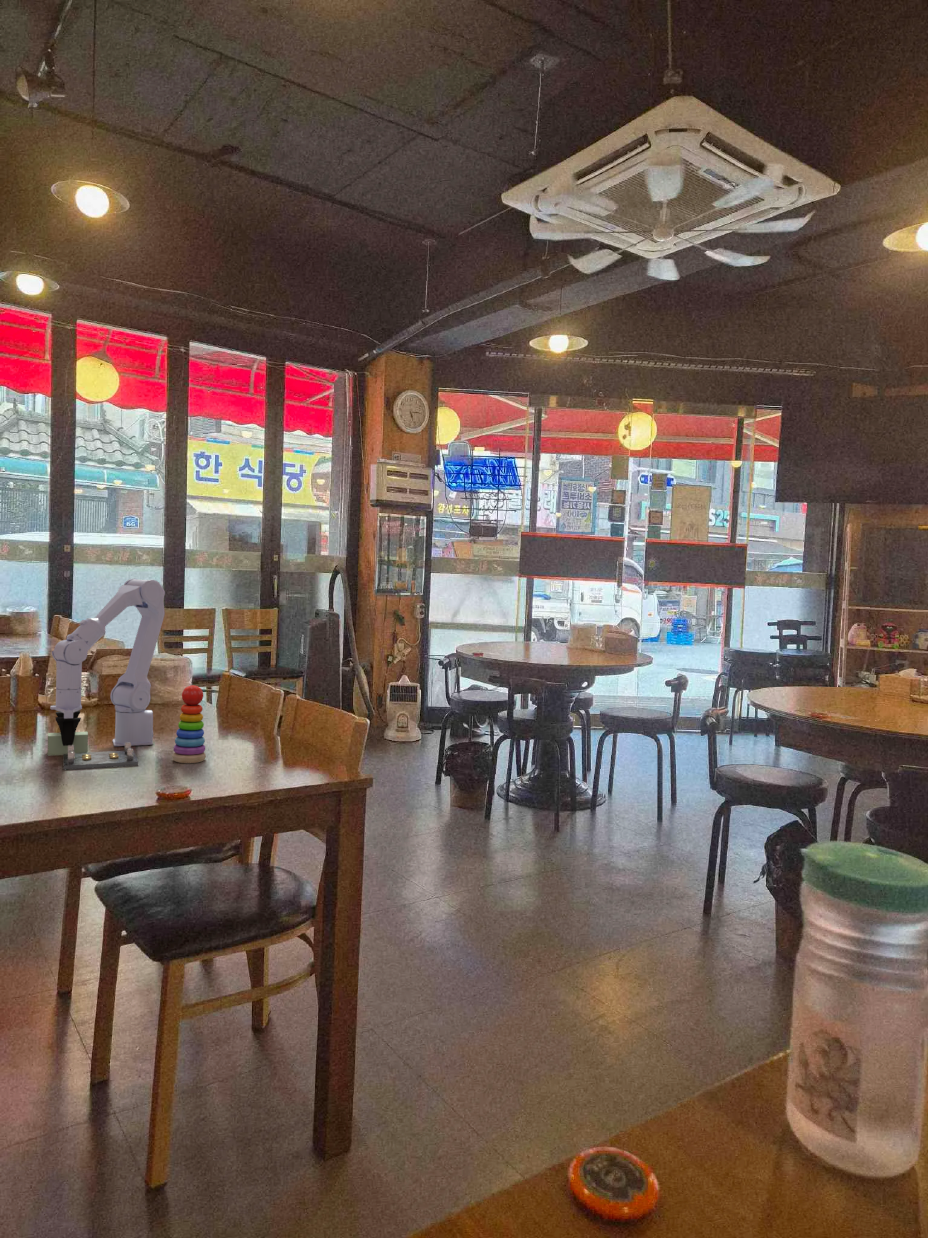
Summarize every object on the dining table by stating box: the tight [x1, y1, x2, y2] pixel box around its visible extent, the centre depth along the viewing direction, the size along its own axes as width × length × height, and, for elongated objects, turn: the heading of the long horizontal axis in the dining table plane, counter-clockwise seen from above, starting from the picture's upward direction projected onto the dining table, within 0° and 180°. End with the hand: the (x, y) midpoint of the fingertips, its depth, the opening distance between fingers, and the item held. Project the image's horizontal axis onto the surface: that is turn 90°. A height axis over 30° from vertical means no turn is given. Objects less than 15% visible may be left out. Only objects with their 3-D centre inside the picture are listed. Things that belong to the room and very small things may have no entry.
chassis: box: [62, 742, 139, 771], centre depth 199 cm, size 16×13×4 cm
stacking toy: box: [171, 684, 207, 764], centre depth 204 cm, size 8×8×19 cm
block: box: [47, 731, 89, 757], centre depth 207 cm, size 9×4×5 cm, turn 116°
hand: (67, 742), depth 207 cm, fingers open, 7 cm apart
